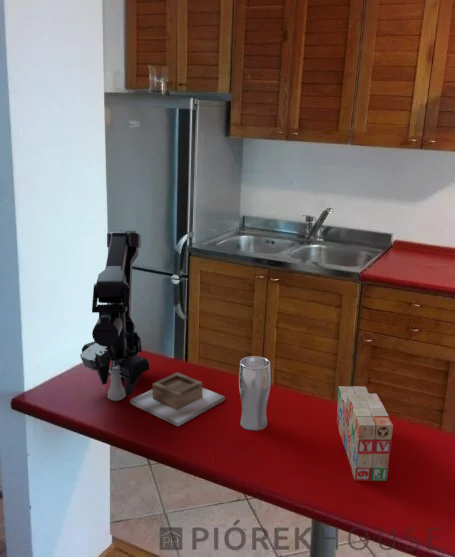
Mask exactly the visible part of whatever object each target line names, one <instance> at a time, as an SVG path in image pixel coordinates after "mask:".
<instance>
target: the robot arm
mask: <svg viewBox="0 0 455 557" xmlns="http://www.w3.org/2000/svg"><path fill="white" fill-rule="evenodd" d="M106 247H107V248H108V252H107V258H106V262H105V263H106V264H105V268H104V270H102V271H101V272H99V273H98V275H97V279H96V283H94V284H93V292H92V304H91V306H92V307H91V313H93V314H94V313H96V314H97V313H98V319H97V321H96V323H95V325H94V327H93V329H92V332H91V335H92V339H93V340H94V341H91V342H88V343H86V344H84V345H83V346H82V348H81V353H80V354H79V357H80V360H81V361H82V364H83V366H84V367H85V368H88V369H91V370H92V371H96V372H97V374H98V378H99V381H101V382H100V383H101V385H106V384H107V383H108V380H109V379H108V378H109V375H111V374H110V373H109V370H110V367H111V366H112V367H113V365H115V367H117V365H119V368H120V371H121V373H120V375H121V376H122V377H121V381H122V380H123V381H124V389H125V394H126V397H130V396H132V395H133V394H132V393H133V391H134V390H135V387H136V385H137V383H138V381H139V379H140V377H141V375H143V373H145V372H147V371H150V360H149V359H147V358H146V357H143V356H140V355H139V354H141V353H142V352H143V344H142V343H143V342H142V338H141V337H140V335H139V332H137V325H136V324H135V323H134V321H133V319H132V317H131V315H132V289H133V288H132V284H133V283H132V282H133V264H134V262H135V261H136V259H137V258H138V256H139V253H140V252H139V249H141V248H142V237H141V234H139V233H137V231H136V230H113V231H110V232H108V233H106ZM98 303H99V304H98Z"/></svg>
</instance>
